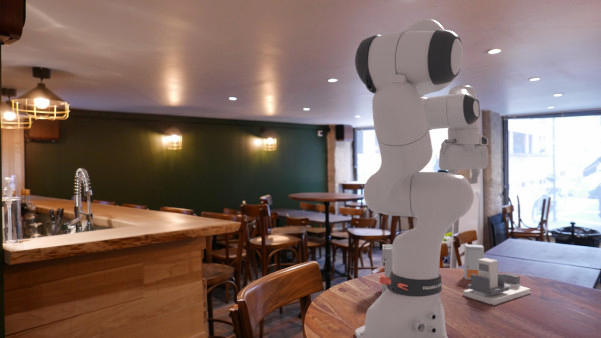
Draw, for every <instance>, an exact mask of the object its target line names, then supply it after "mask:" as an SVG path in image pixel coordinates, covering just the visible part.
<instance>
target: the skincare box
mask: <svg viewBox="0 0 601 338" xmlns="http://www.w3.org/2000/svg"><path fill="white" fill-rule="evenodd" d="M463 257H464V258H463V259H464V263H463V264H464V267H463V270H464V271H463V272H464V273H463V277H464V279H465V280H470V281H471V274H474V275H478V259H483V258H485V247H484V245H482V244H467V243H465V244H464V256H463Z"/></svg>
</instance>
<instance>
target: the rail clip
mask: <svg viewBox="0 0 601 338" xmlns="http://www.w3.org/2000/svg"><path fill="white" fill-rule="evenodd" d="M520 278H521V276H520V275H516V274H512V273H508V272H504V273H499V272H498V287H494V288H491V289H490V279H489V278H486V277H482V276H478V275H474V274H471V280H470V283H469V284H466V288H467V290H468V289H472V290H473V294H476V295H479V296H482V297H485V296H488V295H495V294H498V293H501V292H504V291H508V290H509V289H511V288H514V287H518V286H521V281H520V280H521V279H520Z"/></svg>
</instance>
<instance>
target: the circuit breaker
mask: <svg viewBox="0 0 601 338" xmlns="http://www.w3.org/2000/svg"><path fill="white" fill-rule="evenodd" d="M392 245H393V243H392V244H391V243H390V244H389V243H386V244H382V247H381V264H384V275H383V274H382V275H383V276H386V277H390V273H391V271H392ZM386 289H387V285H385V284H381V295H382V294H383V292H384V291H385V290H386Z"/></svg>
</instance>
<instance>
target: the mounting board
mask: <svg viewBox="0 0 601 338" xmlns="http://www.w3.org/2000/svg"><path fill="white" fill-rule="evenodd" d="M462 292H463V294H462V296H464V297H467V298H470V299H473V300H476V301H480V302H482V303H485V304H489V305H491V304H492V305H491V306H497V305H500V304H501V303H505V302H508V301H511V300H514V299H517V298H520V297H523V296H526V295H529V294H531V288H529V287H526V286H522V285H520V286H518V287H514V288H511V289H509V290H508V291H504V292H501V293H498V294H495V295H488V296H485V297H482V296H479V295H476V294H473V290H472V289H468V288H467V289H464V290H462Z"/></svg>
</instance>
